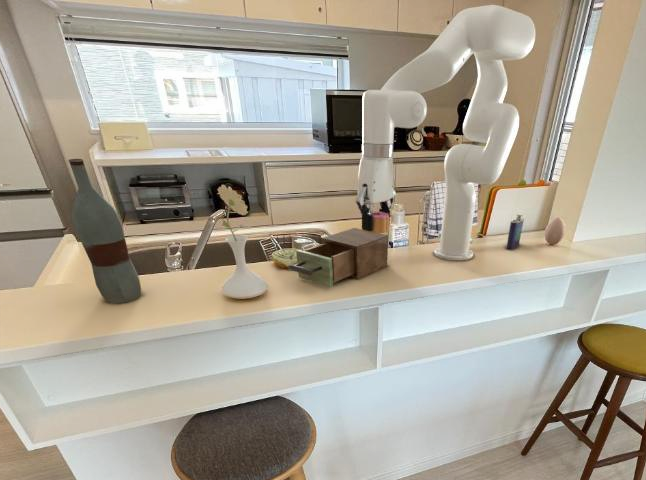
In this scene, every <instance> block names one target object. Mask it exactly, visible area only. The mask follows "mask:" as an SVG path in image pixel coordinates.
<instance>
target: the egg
mask: <svg viewBox="0 0 646 480" xmlns="http://www.w3.org/2000/svg"><path fill="white" fill-rule="evenodd" d="M565 233H566V224H565V222H564V220H563V219H562V218H560V217H554V218H552V219H551V220H550V221H549V222H548V224H547V225H546V228H545V230H544V240H545V241H546V243H547V244H549V245H551V246H554V245H558V244H559V243H560V242H561V241H562V240H563V239H564V237H565Z"/></svg>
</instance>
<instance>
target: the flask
mask: <svg viewBox="0 0 646 480" xmlns="http://www.w3.org/2000/svg"><path fill="white" fill-rule="evenodd" d="M524 222H525V218H523V214H516V218H515V219H513V220H511V221H510V224H509V230H508V236H507V241H506V242H507V243H506V246H505V249H506V250H507V251H514V250H515V249H517V248H518V247H519V245H520V242H521V235H522V230H523V225H524Z"/></svg>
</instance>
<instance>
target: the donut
mask: <svg viewBox="0 0 646 480" xmlns="http://www.w3.org/2000/svg"><path fill="white" fill-rule="evenodd" d="M371 215H373V231H366V230H363V231H366V232H368V233H380V234H386V233H388V232H389V231H390V225H389V215H388V213H385V212H379V210H378V211H376V210H375V211H372V213H371Z"/></svg>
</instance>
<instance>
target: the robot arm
mask: <svg viewBox="0 0 646 480" xmlns="http://www.w3.org/2000/svg"><path fill="white" fill-rule="evenodd" d="M535 41H536V26H535V23H534V21H533V19H532V18H531V17H530V16H529V15H527V14H525V13H522V12H518V11H515V10H513V9H511V8H508V7H505V6H501V5H497V4H487V5H480V6H474V7H469V8H465V9H463V10H461V11H459V12H458V13H457V14H456V15H455V16H454V17H453V18H452V19H451V20H450V22H449V23H448V24H447V25H446V27H445V28H444V29H443V31H441V33H440V34H439V35H438V36H437V38H436V39H435V40H434V41H433V42H432V44H431V45H430V46H429V47H428V48H427V49H426V50H425V51H424V52H422V53H420V54H419V55H417V56H416V57H414V58H413V59H412V60H411V61H409V62H408V63H407V64H405V65H403V66H402V67H400V68H399V69H398V70H397V71H396V72H395V73H393V74H392V75H391V76H390V78H388V80H387V81H386V82H385V83H384V85H382V87H381V88H380V89H368V90H366V91H364V92H363V95H362V102H361V103H362V107H361V108H362V110H361V111H362V118H361V119H362V121H361V122H362V124H361V125H362V128H361V129H362V130H361V133H362V135H361V137H362V140H361V141H362V144H361V151H362V152H361V158H360V161H359V166H358V176H357V196H356V198H355V203H356V205H357V207H358V210H359V212H360V215H361V229H362V230H366V231H373V215H371V213H372V212H373V210H374V206H375V205H376V204H379V205H380V208H378V209H379V210H378V212H385V213H388V215H389V226H390V224H391V222H390V221H391V210H392V207H393V206H392V204H393V202H394V199H395V196H396V193H397V192H396V190H395V188H394V186H395V185H394V183H395V181H394V176H395V175H394V161H393V160H394V140H395V139H394V134H395V128H400V129H413V128H416V127H419V126H420V125H421V124H422V123H423V122H424V120H425V119H426V117H427V113H428V105H427V102H426V99H425V98H424V96H422V94H423V93H426V92H429V91H432V90H435V89H437V88H440V87H441V86H444V85H446V84H448V83H449V82H451V80H452V79H453V78H454V77H455V75H456V74H457V73H458V72H459V71H460V70H461V68H462V67H463V66H464V65H465V63H466V62H468V60H469V58H470V57H471V56H472V55H474V59H475V63H476V68H477V82H476V85H475V88H474V92H473V94H472V96H471V97H472V98H471V100H470V102H469V106H468V109H467V112H466V113H465V114H466V115H465V117H464V120H463V123H462V133H463V136H464V137H465V139H467V140H468V141H471V142H476V143H484V144H486V145H485V146H484V145H478V144H471V143H470V144H469V143H459V144H455V145H453V146H452V147H451V148H450V149H448V151H447V153H446V155H445V157H444V164H443V165H444V166H443V167H444V181H445V182H444V184H445V186H444V187H445V188H444V200H443V209H442V210H443V211H442V218H441V219H442V220H441V228H440V229H441V230H440V239H439V246H438V247H435V248H434V251H433V252H434V253H433V254H434V256H436V257H437V258H440V259H443V260H449V261H467V260H470V259H472V258H473V257H474V251H473V250H472V249H470V245H471V244H473V243H474V239H473V238H472V231H473V224H474V217H475V208H476V201H477V193H476V188H475V187H476V186H475V185H481V186H490V185H493V184H494V183H496V182H497V180H498V179H499V178H500V176H501V174H502V173H503V170H504V168H505V165H506V162H507V160H508V158H509V155H510V153H511V151H512V147H513V145H514V143H515V140H516V137H517V134H518V131H519V126H520V114H519V111H518V109H517V107H515V106H514V105H513V104H510V103H507V102H506V103H505V102H504V100H505V97H506V93H507V91H508V84H509V83H508V76H507V73H506V69H505V66H504V62H503V61H517V60H522V59H524V58H525V57H526V56H528V55H529V53H530V52H531V51H532V49H533V47H534V45H535Z"/></svg>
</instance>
